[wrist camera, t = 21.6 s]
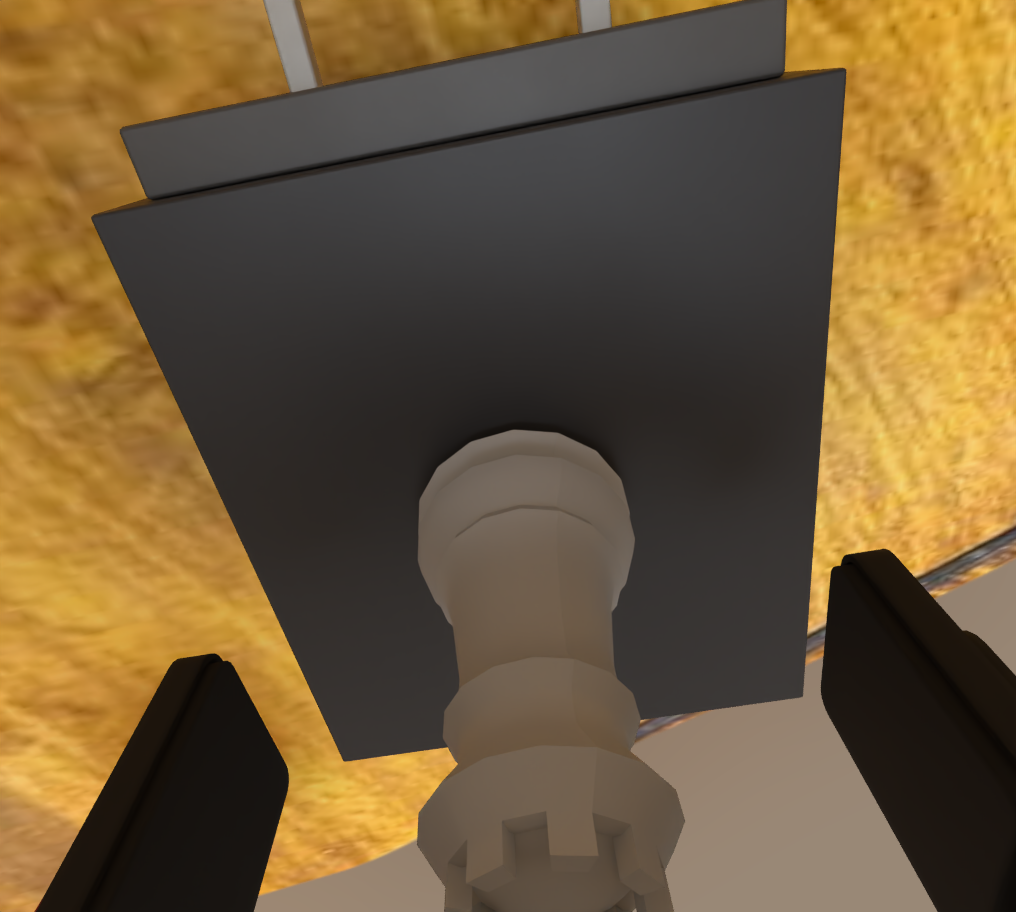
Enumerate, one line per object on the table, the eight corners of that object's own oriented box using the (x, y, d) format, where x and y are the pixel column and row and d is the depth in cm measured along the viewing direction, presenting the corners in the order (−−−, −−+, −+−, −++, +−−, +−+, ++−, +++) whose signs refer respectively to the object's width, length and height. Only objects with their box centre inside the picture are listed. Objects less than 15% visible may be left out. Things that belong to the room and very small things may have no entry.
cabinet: (260, 163, 19) (87, 215, 11) (685, 79, 19) (848, 66, 10) (388, 550, 26) (343, 762, 18) (699, 500, 26) (803, 697, 17)
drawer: (192, -82, 16) (-29, -215, 9) (660, -185, 15) (801, -412, 8) (385, 514, 24) (346, 676, 18) (688, 464, 24) (770, 613, 17)
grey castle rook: (447, 393, 13) (399, 760, 6) (657, 448, 13) (843, 831, 6) (399, 568, 15) (321, 995, 8) (584, 607, 15) (665, 1030, 8)
